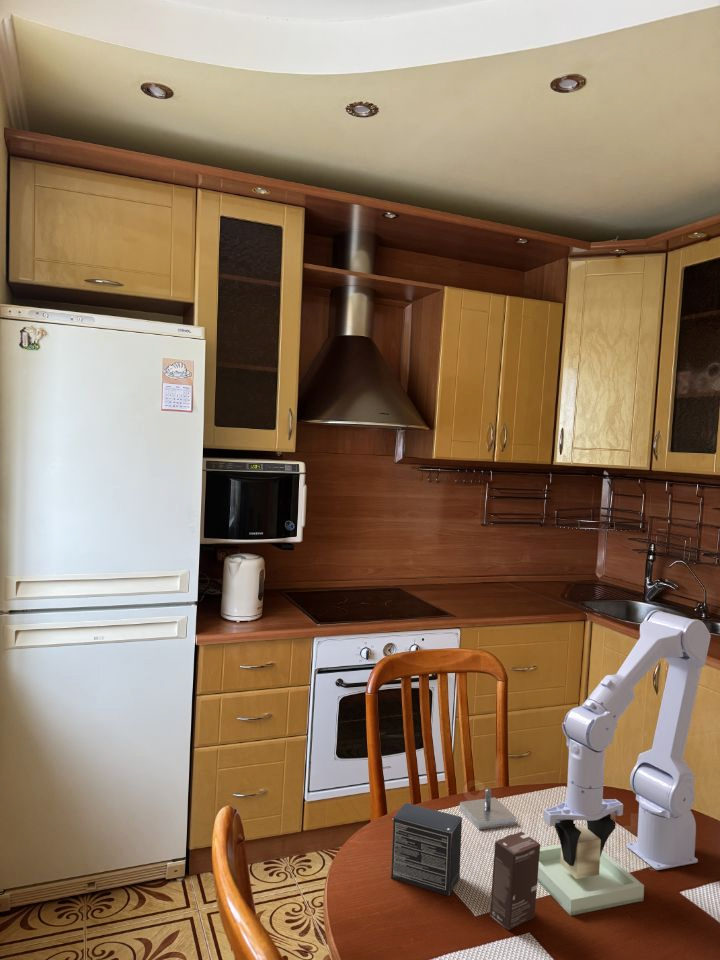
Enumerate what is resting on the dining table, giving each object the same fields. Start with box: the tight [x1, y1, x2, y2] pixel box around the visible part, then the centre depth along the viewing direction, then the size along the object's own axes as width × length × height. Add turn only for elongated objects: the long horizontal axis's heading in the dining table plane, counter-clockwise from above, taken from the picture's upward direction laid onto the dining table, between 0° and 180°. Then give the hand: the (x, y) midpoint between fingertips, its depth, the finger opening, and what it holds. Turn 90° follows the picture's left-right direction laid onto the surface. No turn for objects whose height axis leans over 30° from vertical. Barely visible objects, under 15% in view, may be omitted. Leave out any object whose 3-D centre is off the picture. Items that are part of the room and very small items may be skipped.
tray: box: [537, 843, 645, 916], centre depth 116 cm, size 14×14×2 cm
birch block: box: [560, 825, 601, 879], centre depth 116 cm, size 4×4×6 cm
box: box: [489, 831, 541, 931], centre depth 106 cm, size 6×4×12 cm
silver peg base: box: [459, 787, 517, 831], centre depth 136 cm, size 8×8×6 cm
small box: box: [390, 802, 463, 897], centre depth 115 cm, size 11×6×10 cm, turn 65°
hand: (581, 860), depth 116 cm, fingers closed on birch block, 4 cm apart
